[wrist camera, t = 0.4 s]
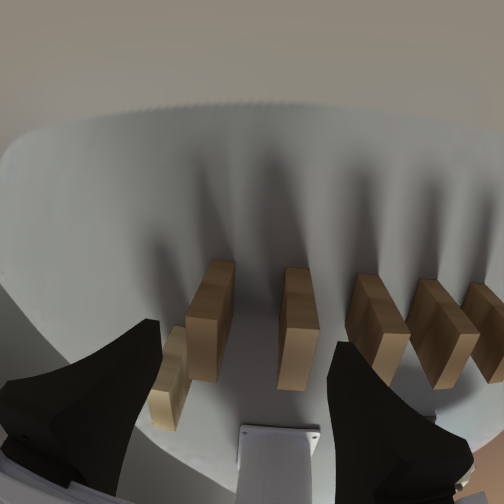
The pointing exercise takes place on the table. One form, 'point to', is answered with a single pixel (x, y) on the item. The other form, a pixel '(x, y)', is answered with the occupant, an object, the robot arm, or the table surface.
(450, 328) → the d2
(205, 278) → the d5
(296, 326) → the d4
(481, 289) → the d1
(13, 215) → the table surface
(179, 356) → the maple tile
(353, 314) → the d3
